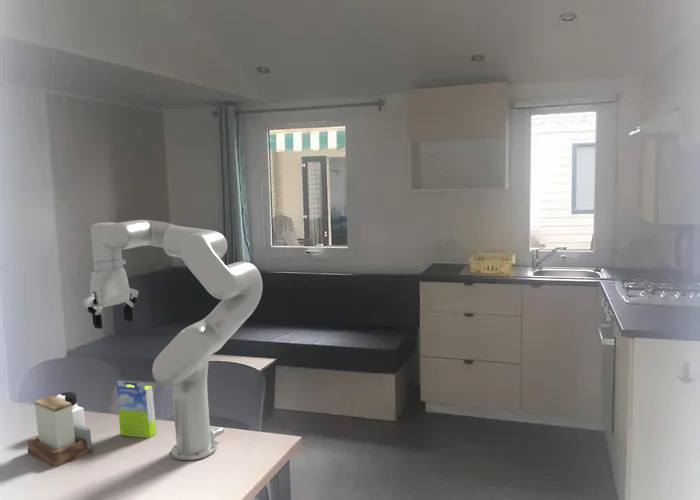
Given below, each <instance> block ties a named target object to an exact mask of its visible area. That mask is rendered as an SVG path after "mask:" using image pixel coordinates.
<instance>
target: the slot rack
mask: <svg viewBox="0 0 700 500" xmlns="http://www.w3.org/2000/svg"><path fill="white" fill-rule="evenodd" d="M73 424H74V434H75V443H74V444H72V445H69V446H67V447H64V448H61V449H59V450H54V449H52V448H50V447H48V446H46V445H43V444H41V443H39V436H35V437H32V438H30V439H27V440H26V444H27V454H29V455H30V456H32V457H35V458H37V459H39V460H41V461H42V462H45V463H47V464H49V465H50V466H53V467H55V468H58V467H60V466H63V465H66V464H68V463H70V462H73V461H75V460H77V459H80V458H82V457H85V456H87V455H89V454H92V453H93V446H92V445H93V444H92V437H91V435H92V433H91V429H90V428H88V427H86V426H85V427H83V426H81V425H78V424H76V423H73Z"/></svg>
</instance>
